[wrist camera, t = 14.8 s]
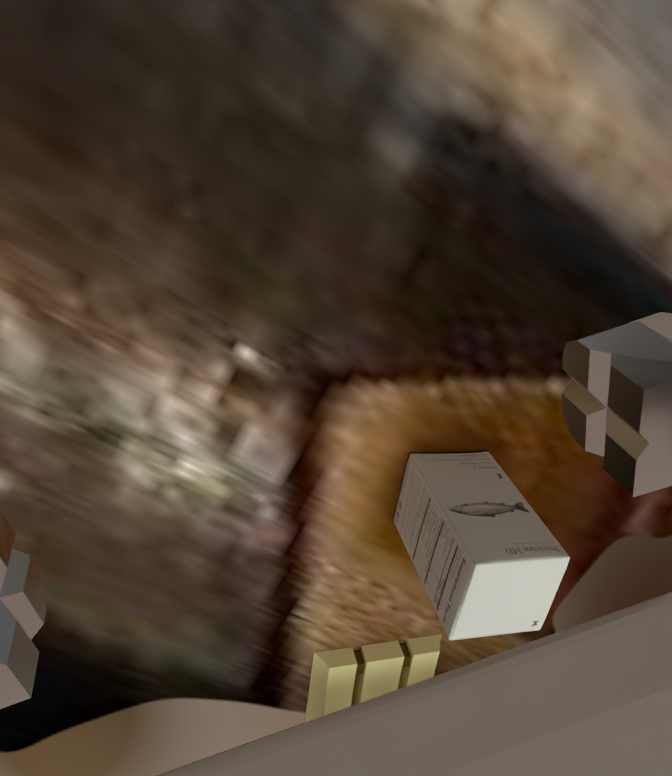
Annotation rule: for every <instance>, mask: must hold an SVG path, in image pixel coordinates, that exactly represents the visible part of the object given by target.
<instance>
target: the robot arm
mask: <svg viewBox="0 0 672 776" xmlns="http://www.w3.org/2000/svg"><path fill="white" fill-rule="evenodd" d="M563 369H564V370H565V371H566V372H567V373H568V374H569V375H570V376H571V377H572V378H571V380H570V382H569V383H568V385H567V386H566V388H565V390H564V391H563V393H562V412H563V415H564V418H565V421H566V424H567V427H568V430H569V431H570V433H571V434H572V436H573V438H574V439H575V441H576V442H577V443H578V444H579V445H580V446H581V447H582V448H583V449H584V450H585V451H588V452H591V453H594V454H597V455H600V456H604V470H605V471H606V472H607V473H608V474H609V475H610V476H611V477H612V478H613V479H615V480H616V481H617V482H618V483H619V484H620V485H621V486H622V487H623V488H624V489H625V490H626V491H627V492H628V493H629V494H630V495H631V496H632V497H635V496H639V495H642V494H645V493H649V492H652V491H655V490H659V489H662V488H665V487H669V486H672V314H671V313H661V312H660V313H657V314H654V315H651V316H648V317H645V318H642V319H639V320H636V321H633V322H630V323H629V324H626V325H623V326H620V327H616V328H613V329H610V330H607V331H604V332H600V333H597V334H594V335H591V336H588V337H584V338H581V339H578V340H575V341H572V342H568V343H567V345H566V347H565V350H564V353H563ZM15 534H16V532H15V531H14V529H13V528H12V526H11V525H10V524H9V522H8V521H7V519H6V518H5V516H4V515H2V514H0V709H1V708H4V707H7V706H10V705H12V704H15V703H18V702H21V701H23V700H26V699H29V698H31V695H32V689H33V684H34V678H35V672H36V667H37V661H38V655H39V651H38V650H37V649H36V647H35V646H34V644H33V643H32V641H31V639H32V638H33V637H34V635H35V634H36V633H37V632H38V631H39V629H40V628H41V627H42V626H43V624H44V619H45V612H46V597H45V588H44V583H43V580H42V578H41V575H40V572H39V570H38V568H37V566H36V564H35V563H34V561H33V559H32V558H31V556H29V555H27V554H24V553H22V552H20V551H17V550H15V549H13V548H12V546H13V542H14V538H15ZM156 776H672V592H670V593H667V594H664V595H661V596H659V597H656V598H653V599H650V600H647V601H645V602H642V603H639V604H636V605H634V606H631V607H628V608H625V609H622V610H620V611H617V612H614V613H611V614H608V615H605V616H603V617H600V618H597V619H594V620H591V621H589V622H586V623H583V624H580V625H577V626H574V627H572V628H569V629H566V630H563V631H561V632H558V633H555V634H552V635H549V636H546V637H544V638H541V639H538V640H535V641H532V642H530V643H527V644H524V645H521V646H518V647H516V648H513V649H510V650H507V651H504V652H502V653H499V654H496V655H493V656H490V657H488V658H485V659H482V660H479V661H476V662H473V663H471V664H468V665H465V666H462V667H459V668H457V669H454V670H451V671H448V672H445V673H443V674H440V675H437V676H434V677H431V678H429V679H426V680H423V681H420V682H417V683H415V684H412V685H409V686H406V687H403V688H401V689H398V690H395V691H392V692H389V693H386V694H384V695H381V696H378V697H375V698H372V699H370V700H367V701H364V702H361V703H358V704H356V705H353V706H350V707H347V708H344V709H342V710H339V711H336V712H333V713H330V714H328V715H325V716H322V717H319V718H316V719H314V720H311V721H308V722H305V723H302V724H300V725H297V726H294V727H291V728H288V729H285V730H283V731H280V732H277V733H274V734H272V735H269V736H266V737H263V738H260V739H258V740H255V741H252V742H249V743H246V744H244V745H241V746H238V747H235V748H233V749H230V750H227V751H224V752H221V753H218V754H215V755H213V756H210V757H207V758H204V759H201V760H198V761H196V762H193V763H190V764H187V765H184V766H182V767H179V768H176V769H174V770H170V771H168V772H165V773H162V774H160V775H156Z"/></svg>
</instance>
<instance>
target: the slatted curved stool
mask: <svg viewBox="0 0 672 776" xmlns="http://www.w3.org/2000/svg"><path fill="white" fill-rule="evenodd" d="M441 636H442V634H439V635H433V636H426V637H419V638H412V639H407V641H406V644H403V645H400V644H399V642H398V641H391V642H384V643H378V644H371V645H364V646H361V651H356V652H353V648H352V647H350V648H343V649H336V650H330V651H323V652H316V653H314V656H313V664H312V671H311V679H310V686H309V694H308V701H307V709H306V716H305V722H308V721H311V720H314V719H316V718H319V717H322V716H325V715H328V714H330V713H333V712H336V711H339V710H342V709H344V708H347V707H350V706H353V705H356V704H358V703H361V702H364V701H367V700H370V699H372V698H375V697H378V696H381V695H384V694H386V693H389V692H392V691H395V690H398V689H401V688H403V687H406V686H409V685H412V684H415V683H417V682H420V681H423V680H426V679H429V678H431V677H433V676H434V672H435V668H436V664H437V660H438V657H439V653H440V640H441ZM355 675H356V678H355ZM354 681H355V683H354ZM353 687H354V689H353Z"/></svg>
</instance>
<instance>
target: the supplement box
mask: <svg viewBox="0 0 672 776" xmlns="http://www.w3.org/2000/svg"><path fill="white" fill-rule="evenodd" d="M394 523H395V525H396V527H397V529H398V532H399V534H400V536H401V538H402V540H403V543H404V545H405V547H406V549H407V551H408V553H409V555H410V557H411V560H412V562H413V564H414V566H415V568H416V570H417V572H418V575H419V577H420V579H421V581H422V583H423V585H424V587H425V589H426V591H427V593H428V595H429V598H430V600H431V602H432V604H433V606H434V608H435V610H436V612H437V614H438V617H439V619H440V621H441V623H442V625H443V628H444V630H445V632H446V635H447V637H448V639H449V640H460V639H467V638H476V637H484V636H493V635H502V634H510V633H518V632H528V631H538V630H540V629H541V627H542V625H543V623H544V620H545V618H546V616H547V614H548V611H549V609H550V606H551V604H552V602H553V599H554V597H555V594H556V592H557V589H558V587H559V585H560V582H561V580H562V577H563V575H564V572H565V570H566V568H567V565H568V562H569V559H570V557H569V556H568V554H567V553H566V552H565V551H564V549H563V548H562V547H561V545H560V544H559V543H558V541H557V540H556V539H555V538H554V536H553V535H552V534H551V532H550V531H549V530H548V528H547V527H546V526H545V525H544V523H543V522H542V521H541V519H540V518H539V517H538V515H537V514H536V513H535V511H534V510H533V509H532V508H531V506H530V505H529V504H528V502H527V501H526V500H525V499H524V497H523V496H522V495H521V493H520V492H519V491H518V489H517V488H516V487H515V486H514V484H513V483H512V482H511V480H510V479H509V478H508V476H507V475H506V474H505V472H504V471H503V470H502V468H501V467H500V466H499V465H498V463H497V462H496V461H495V459H494V458H493V457H492V456H491V454H490V453H489V452H477V453H456V454H410V455H409V459H408V463H407V467H406V471H405V475H404V479H403V483H402V487H401V491H400V496H399V500H398V504H397V508H396V513H395V517H394Z"/></svg>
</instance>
